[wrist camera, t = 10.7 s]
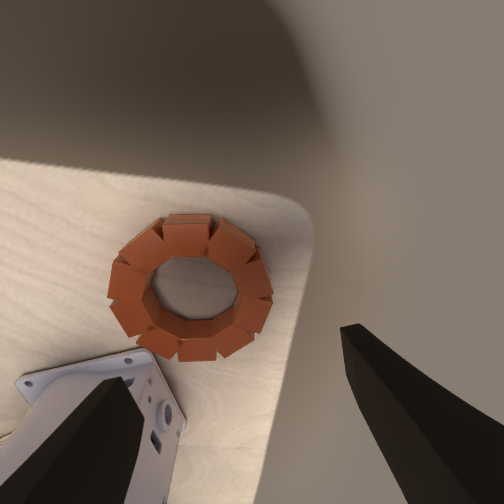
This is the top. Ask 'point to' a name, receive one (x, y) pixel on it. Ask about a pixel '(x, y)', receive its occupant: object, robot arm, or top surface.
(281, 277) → the top surface
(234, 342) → the ring
